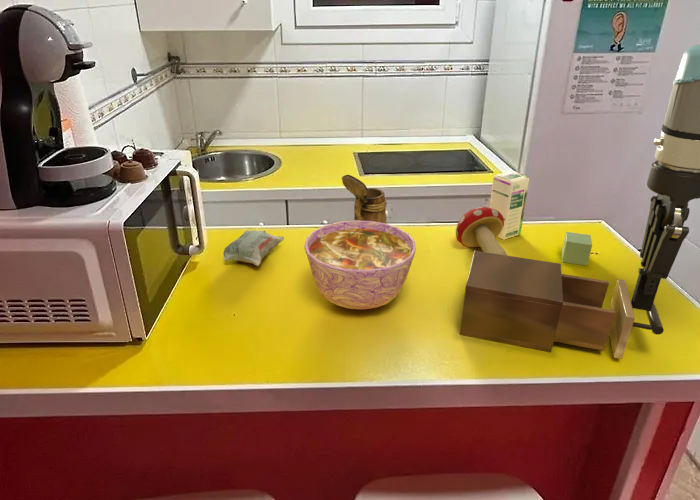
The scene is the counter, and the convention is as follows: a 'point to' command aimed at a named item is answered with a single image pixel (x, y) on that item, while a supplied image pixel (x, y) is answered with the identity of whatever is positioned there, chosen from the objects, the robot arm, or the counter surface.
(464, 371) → the counter surface
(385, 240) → the bowl of food
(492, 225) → the decorative mushroom
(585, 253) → the block
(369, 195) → the wooden mug
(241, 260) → the packaged food
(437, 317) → the counter surface
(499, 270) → the cabinet
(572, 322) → the drawer
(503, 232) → the syrup box
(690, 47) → the robot arm
